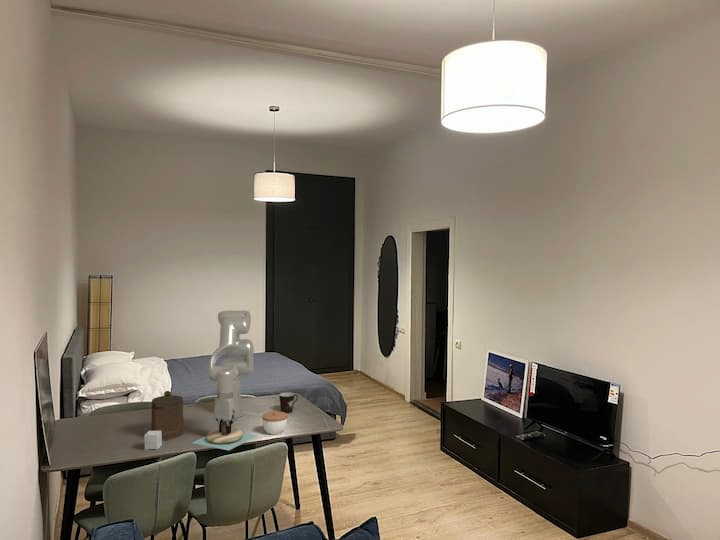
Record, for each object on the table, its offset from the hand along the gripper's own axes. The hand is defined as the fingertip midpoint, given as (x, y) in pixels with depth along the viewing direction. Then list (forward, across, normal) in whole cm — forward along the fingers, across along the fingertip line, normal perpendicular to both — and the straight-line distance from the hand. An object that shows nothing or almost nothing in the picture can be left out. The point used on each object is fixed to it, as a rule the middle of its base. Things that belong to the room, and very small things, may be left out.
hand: (225, 432), depth 259 cm
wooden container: (+4, -30, -7) cm, 31 cm away
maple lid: (+2, 0, 0) cm, 2 cm away
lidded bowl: (+4, +16, +19) cm, 25 cm away
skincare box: (+4, -23, -23) cm, 33 cm away
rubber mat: (+4, 0, 0) cm, 4 cm away
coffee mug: (+5, +3, +53) cm, 53 cm away
